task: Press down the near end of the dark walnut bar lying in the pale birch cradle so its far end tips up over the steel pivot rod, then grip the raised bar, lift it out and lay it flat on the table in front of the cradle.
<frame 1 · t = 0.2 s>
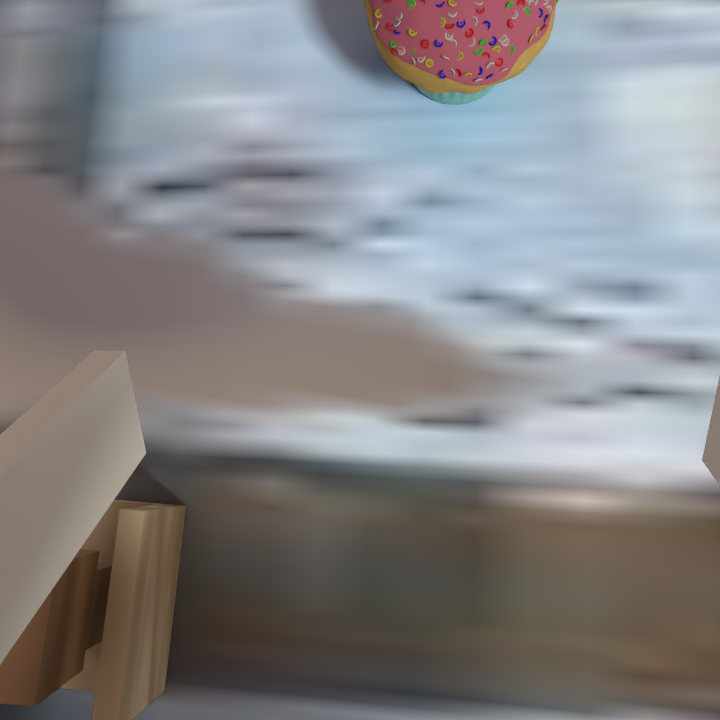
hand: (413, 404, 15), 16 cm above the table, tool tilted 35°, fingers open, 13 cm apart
cupcake: (451, 63, 34), on the table
birch cradle: (6, 580, 30), on the table
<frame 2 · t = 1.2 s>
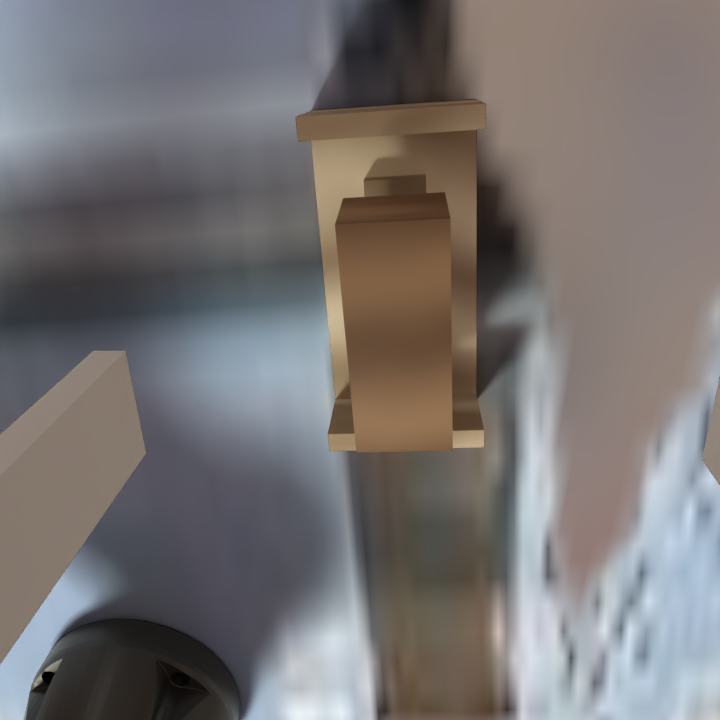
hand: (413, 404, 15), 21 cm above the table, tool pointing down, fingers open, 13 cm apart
birch cradle: (399, 272, 36), on the table
walnut bar: (399, 308, 32), point 4 cm above the table, touching birch cradle
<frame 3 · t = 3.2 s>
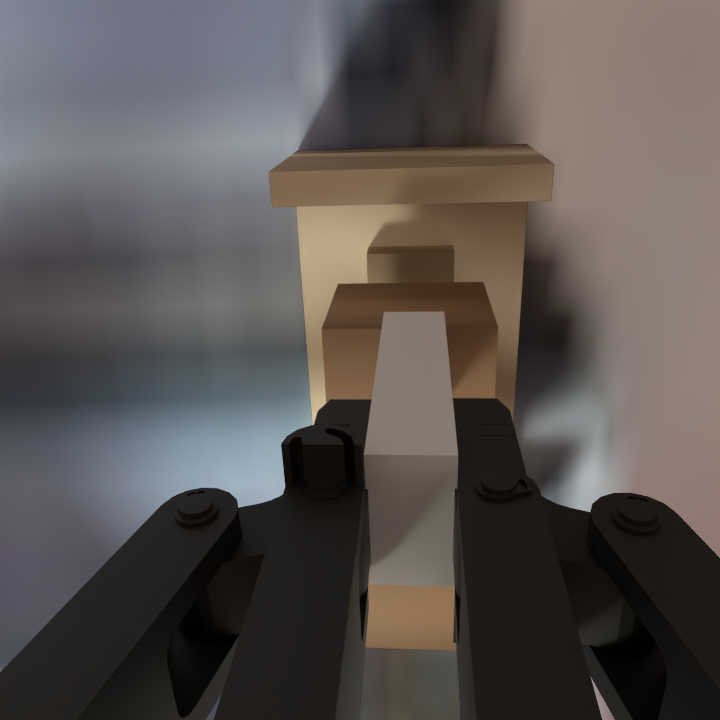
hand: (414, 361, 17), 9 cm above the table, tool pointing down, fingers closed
birch cradle: (411, 367, 27), on the table
walnut bar: (411, 437, 23), point 4 cm above the table, touching birch cradle, gripper
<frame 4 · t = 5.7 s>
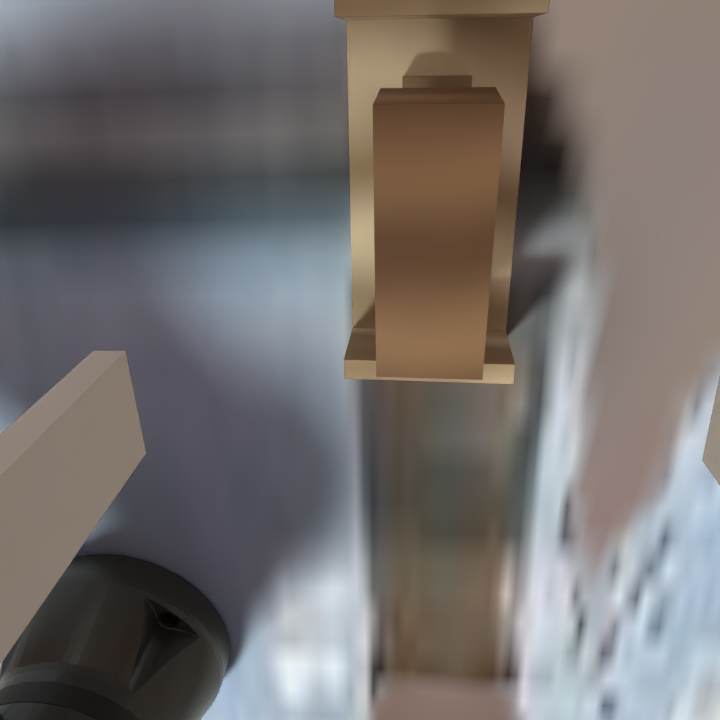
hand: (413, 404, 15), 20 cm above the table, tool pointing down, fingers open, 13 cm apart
birch cradle: (432, 190, 33), on the table
walnut bar: (433, 222, 29), point 4 cm above the table, touching birch cradle
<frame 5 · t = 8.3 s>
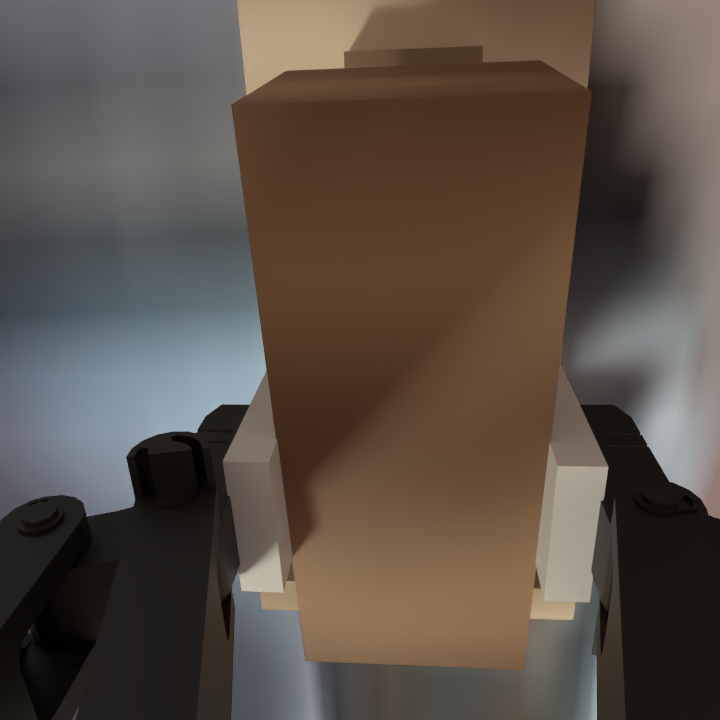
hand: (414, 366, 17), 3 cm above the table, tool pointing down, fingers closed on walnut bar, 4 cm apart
birch cradle: (414, 259, 18), on the table
walnut bar: (412, 339, 14), point 4 cm above the table, touching birch cradle, gripper
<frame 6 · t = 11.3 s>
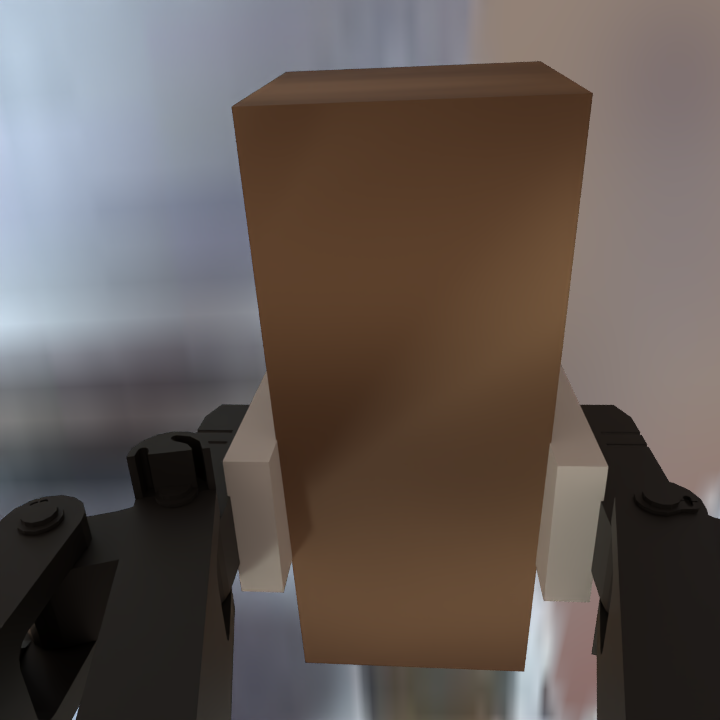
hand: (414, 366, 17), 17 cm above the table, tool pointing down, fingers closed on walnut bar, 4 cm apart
walnut bar: (413, 340, 14), point 19 cm above the table, tilted 5°, touching gripper
when the fingers open (2 cm above the table, at t = 14.5 s): walnut bar drops 4 cm, on the table.
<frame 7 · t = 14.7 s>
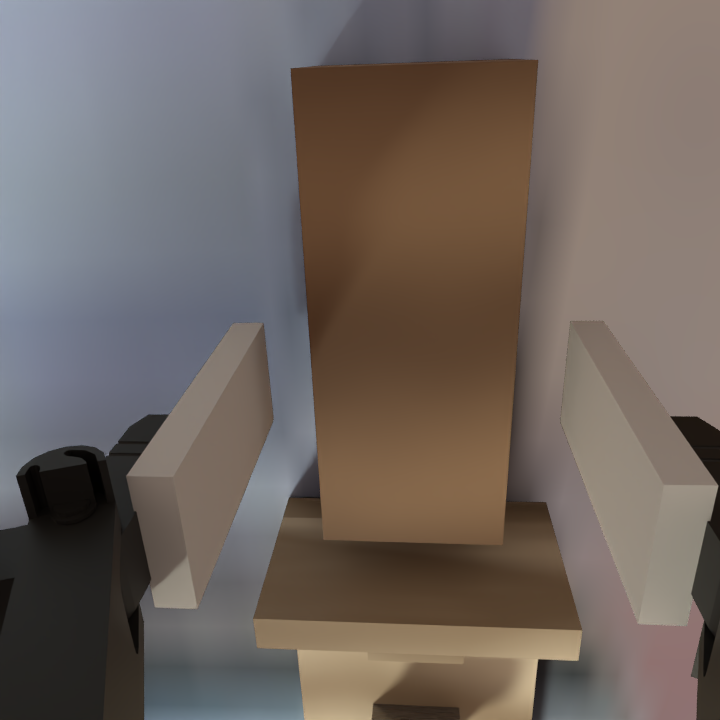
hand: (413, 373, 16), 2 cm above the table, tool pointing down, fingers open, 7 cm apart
birch cradle: (415, 690, 24), on the table
walnut bar: (414, 283, 18), on the table
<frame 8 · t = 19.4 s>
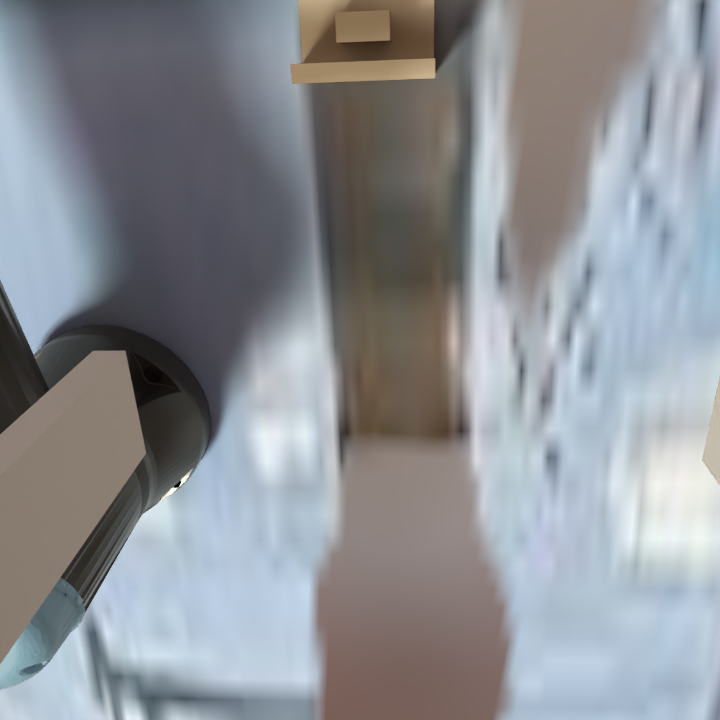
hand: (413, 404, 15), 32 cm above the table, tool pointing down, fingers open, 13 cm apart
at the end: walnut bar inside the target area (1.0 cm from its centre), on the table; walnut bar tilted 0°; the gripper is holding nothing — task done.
